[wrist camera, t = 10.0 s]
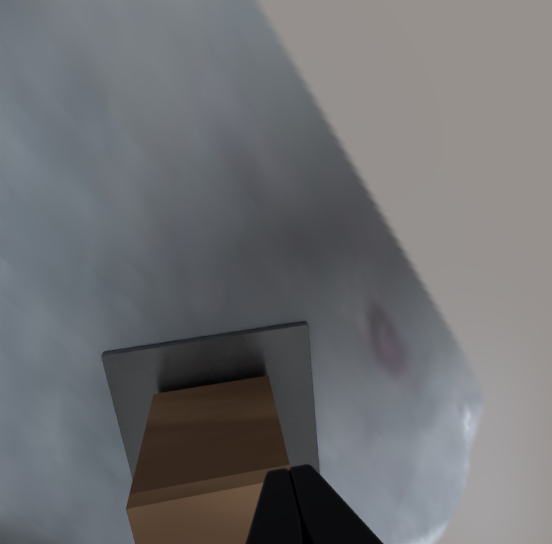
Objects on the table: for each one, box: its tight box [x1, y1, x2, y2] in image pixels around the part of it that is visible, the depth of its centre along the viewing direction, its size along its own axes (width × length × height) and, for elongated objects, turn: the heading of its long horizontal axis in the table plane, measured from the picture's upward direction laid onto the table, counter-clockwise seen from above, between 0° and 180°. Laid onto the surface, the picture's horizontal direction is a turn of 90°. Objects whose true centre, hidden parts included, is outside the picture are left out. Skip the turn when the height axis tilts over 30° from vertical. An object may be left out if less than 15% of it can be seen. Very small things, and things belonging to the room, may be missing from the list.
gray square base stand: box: [101, 321, 320, 478], centre depth 19 cm, size 10×10×7 cm
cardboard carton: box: [126, 376, 290, 544], centre depth 18 cm, size 6×6×7 cm
